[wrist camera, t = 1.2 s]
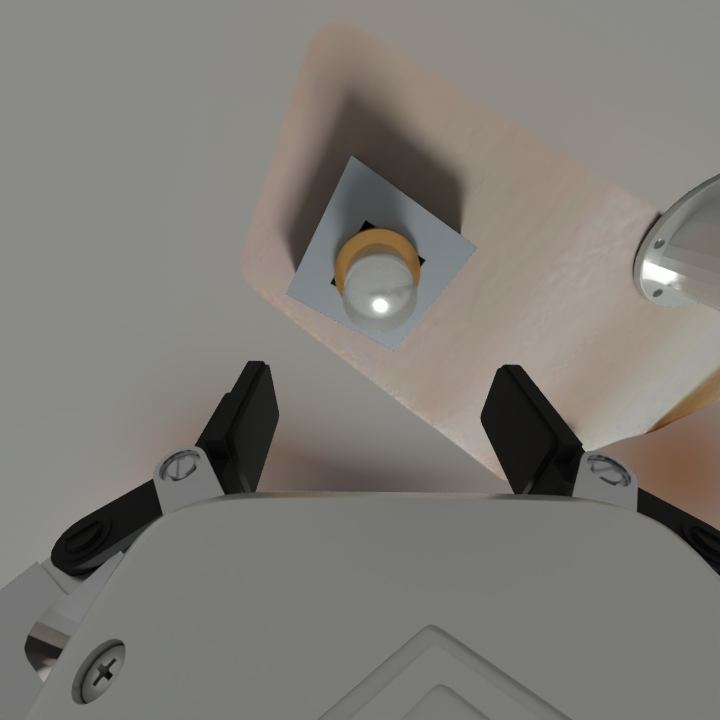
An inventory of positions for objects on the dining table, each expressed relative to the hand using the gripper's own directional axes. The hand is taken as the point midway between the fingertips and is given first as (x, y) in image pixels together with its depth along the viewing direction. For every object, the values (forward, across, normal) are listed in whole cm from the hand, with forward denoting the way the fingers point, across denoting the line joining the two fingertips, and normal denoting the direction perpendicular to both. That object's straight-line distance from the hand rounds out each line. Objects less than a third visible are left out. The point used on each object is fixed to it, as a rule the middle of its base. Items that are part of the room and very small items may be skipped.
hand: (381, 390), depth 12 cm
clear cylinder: (+19, -1, 0) cm, 19 cm away
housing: (+21, -1, 0) cm, 21 cm away
